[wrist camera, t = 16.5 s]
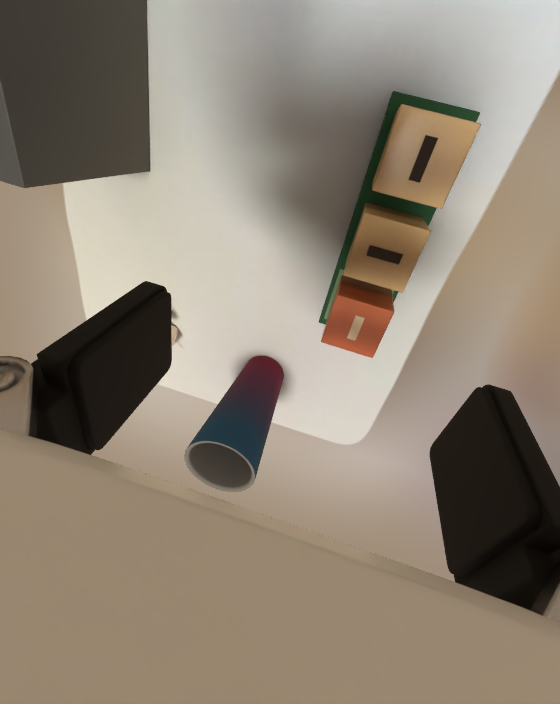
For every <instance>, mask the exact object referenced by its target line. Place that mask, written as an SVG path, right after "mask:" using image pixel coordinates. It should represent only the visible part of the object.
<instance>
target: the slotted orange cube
mask: <svg viewBox="0 0 560 704" xmlns="http://www.w3.org/2000/svg"><path fill="white" fill-rule="evenodd" d="M393 314H394V306H393V297H392V290H391V289H387V288H384V287H380V286H377V285H374V284H370V283H367V282H363V281H360V280H357V279H353V278H350V277H346V276H343V275H342V276H341V279H340V282H339V285H338V288H337V291H336V294H335V297H334V300H333V303H332V306H331V309H330V312H329V315H328V318H327V321H326V325H325V329H324V332H323V336H322V340H321V342H323V343H326V344H329V345H332V346H336V347H339V348H342V349H345V350H348V351H352V352H355V353H358V354H361V355H364V356H368V357H371V358H373V356H374V354H375V352H376V350H377V348H378V346H379V343H380V341H381V339H382V337H383V335H384V333H385V331H386V328H387V326H388V324H389V322H390V320H391V318H392V316H393Z"/></svg>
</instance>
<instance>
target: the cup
mask: <svg viewBox="0 0 560 704" xmlns="http://www.w3.org/2000/svg"><path fill="white" fill-rule="evenodd" d="M283 377H284V374H283V370H282V368H281V366H280V365H279V364H278V363H277V362H276V361H275V360H273V359H272V358H269V357H266V356H257V357H254V358H252V359H250V360H249V361H248V363H247V364H246V366H245V367H244V368H243V370H242V371H241V373H240V374H239V375H238V377H237V378H236V380H235V381H234V383H233V384H232V385H231V387H230V388H229V390H228V391H227V392H226V394H225V395H224V397H223V398H222V399H221V401H220V402H219V404H218V405H217V407H216V408H215V409H214V411H213V412H212V414H211V415H210V416H209V418H208V419H207V421H206V422H205V424H204V425H203V426H202V428H201V429H200V431H199V432H198V433H197V435H196V436H195V438H194V439H193V440H192V442H191V443H190V445H189V446H188V448H187V449H186V451H185V455H184V456H185V462H186V465H187V467H188V468H189V470H190V471H191V472H192V474H193V475H194V476H195V477H196V478H198V479H199V480H200V481H202V482H203V483H205V484H207V485H208V486H210V487H213V488H215V489H218V490H222V491H227V492H240V491H243V490H246V489H248V488H250V487H251V486H252V485H253V483H254V481H255V478H256V474H257V471H258V467H259V463H260V460H261V456H262V453H263V449H264V445H265V442H266V438H267V435H268V431H269V428H270V424H271V420H272V417H273V413H274V410H275V406H276V403H277V399H278V395H279V392H280V388H281V385H282V381H283Z"/></svg>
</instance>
